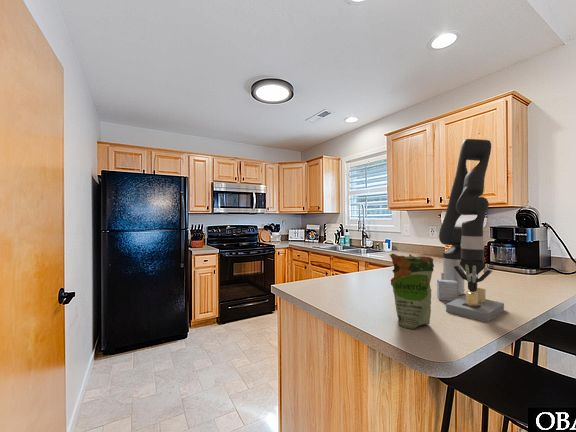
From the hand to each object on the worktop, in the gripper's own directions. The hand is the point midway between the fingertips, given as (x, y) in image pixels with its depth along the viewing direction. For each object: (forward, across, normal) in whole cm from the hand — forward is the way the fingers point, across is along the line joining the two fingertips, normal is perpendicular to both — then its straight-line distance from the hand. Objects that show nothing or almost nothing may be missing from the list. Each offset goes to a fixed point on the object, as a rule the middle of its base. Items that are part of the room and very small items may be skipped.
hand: (472, 291), depth 105 cm
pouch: (+9, +10, +30) cm, 33 cm away
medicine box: (+9, +13, -11) cm, 19 cm away
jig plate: (+9, 0, -4) cm, 9 cm away
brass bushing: (+9, 0, 0) cm, 9 cm away
